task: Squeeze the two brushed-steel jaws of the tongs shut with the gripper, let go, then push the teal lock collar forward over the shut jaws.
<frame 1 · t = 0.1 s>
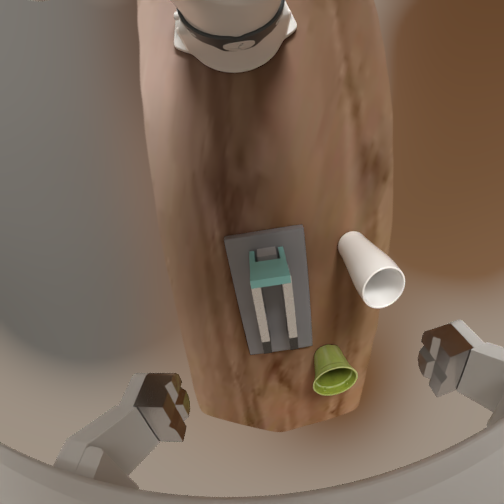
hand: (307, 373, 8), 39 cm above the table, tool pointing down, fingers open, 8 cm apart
plant pot: (327, 353, 60), on the table
jaw 1: (261, 313, 50), point 4 cm above the table, slide at 1.7 cm
jaw 2: (289, 309, 50), point 4 cm above the table, slide at 1.7 cm
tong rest: (274, 300, 54), on the table
white cup: (350, 243, 49), on the table
lock collar: (269, 271, 43), point 7 cm above the table, slide at 0.0 cm
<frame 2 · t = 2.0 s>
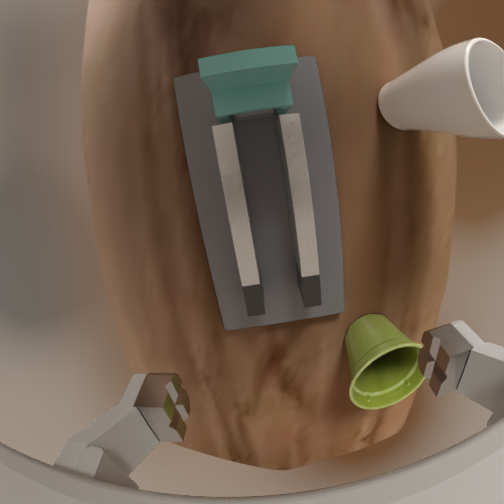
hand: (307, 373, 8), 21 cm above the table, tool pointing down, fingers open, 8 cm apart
plant pot: (367, 332, 33), on the table
jaw 1: (241, 221, 24), point 4 cm above the table, slide at 1.7 cm
jaw 2: (300, 211, 24), point 4 cm above the table, slide at 1.7 cm
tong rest: (268, 208, 27), on the table
white cup: (397, 106, 24), on the table
lock collar: (250, 90, 18), point 7 cm above the table, slide at 0.0 cm
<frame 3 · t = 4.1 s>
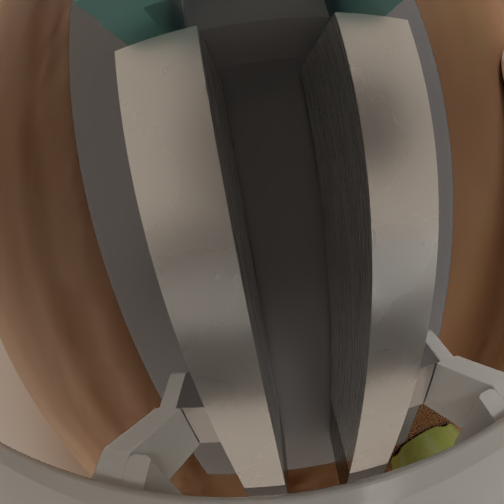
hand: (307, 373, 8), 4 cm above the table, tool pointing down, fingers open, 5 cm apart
plant pot: (422, 443, 17), on the table
jaw 1: (240, 361, 8), point 4 cm above the table, slide at 1.1 cm, touching gripper
jaw 2: (368, 339, 8), point 4 cm above the table, slide at 1.1 cm, touching gripper
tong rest: (291, 294, 11), on the table
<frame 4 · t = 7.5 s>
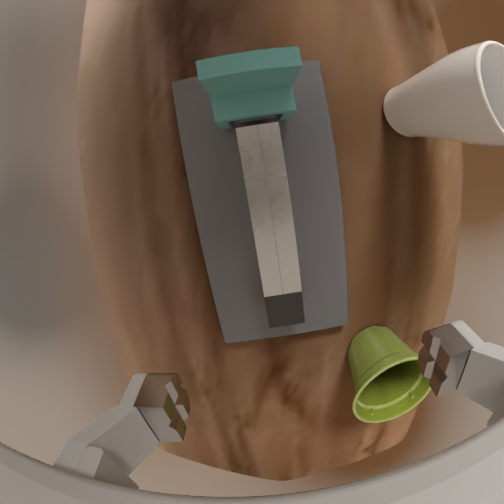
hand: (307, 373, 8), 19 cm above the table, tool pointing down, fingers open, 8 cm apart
plant pot: (370, 344, 32), on the table
jaw 1: (263, 228, 23), point 4 cm above the table, slide at 0.0 cm, touching jaw 2
jaw 2: (282, 225, 23), point 4 cm above the table, slide at 0.0 cm, touching jaw 1
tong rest: (270, 218, 27), on the table
white cup: (402, 111, 23), on the table
lock collar: (252, 95, 17), point 7 cm above the table, slide at 0.0 cm
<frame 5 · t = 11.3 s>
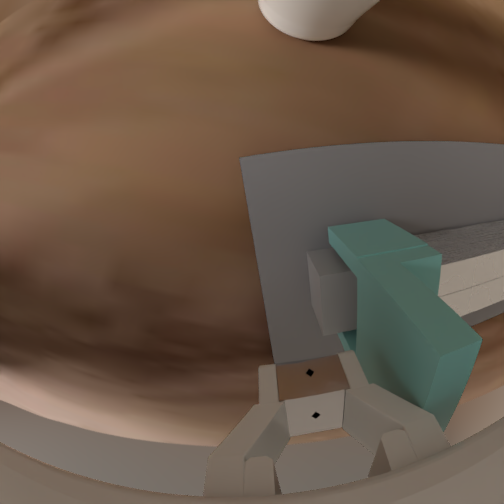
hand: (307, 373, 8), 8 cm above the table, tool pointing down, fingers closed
jaw 1: (496, 269, 12), point 4 cm above the table, slide at 0.0 cm, touching jaw 2
jaw 2: (499, 245, 12), point 4 cm above the table, slide at 0.0 cm, touching jaw 1
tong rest: (463, 239, 15), on the table
white cup: (305, 8, 11), on the table
lock collar: (398, 324, 10), point 7 cm above the table, slide at 1.1 cm, touching gripper
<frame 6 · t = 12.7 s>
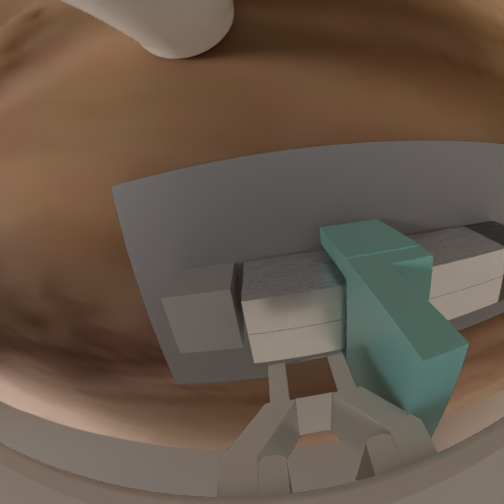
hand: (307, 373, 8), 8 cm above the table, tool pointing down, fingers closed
jaw 1: (411, 293, 13), point 4 cm above the table, slide at 0.0 cm, touching jaw 2
jaw 2: (413, 264, 12), point 4 cm above the table, slide at 0.0 cm, touching jaw 1
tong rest: (383, 253, 16), on the table
white cup: (187, 23, 12), on the table
lock collar: (388, 325, 10), point 7 cm above the table, slide at 7.3 cm, touching gripper
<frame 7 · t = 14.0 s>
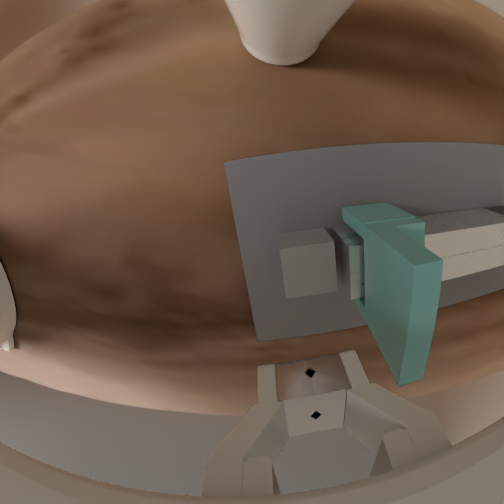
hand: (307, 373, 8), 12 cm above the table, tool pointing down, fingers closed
jaw 1: (450, 253, 16), point 4 cm above the table, slide at 0.0 cm, touching jaw 2
jaw 2: (452, 231, 15), point 4 cm above the table, slide at 0.0 cm, touching jaw 1
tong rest: (425, 228, 19), on the table
white cup: (280, 36, 15), on the table
lock collar: (395, 275, 13), point 7 cm above the table, slide at 4.2 cm
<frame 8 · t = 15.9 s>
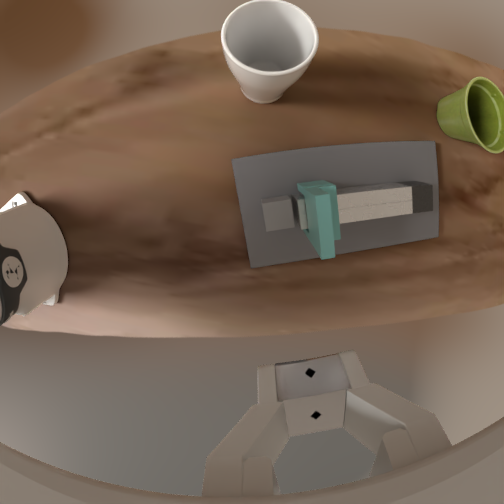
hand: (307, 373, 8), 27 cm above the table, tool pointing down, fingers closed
plant pot: (450, 117, 29), on the table
jaw 1: (366, 208, 30), point 4 cm above the table, slide at 0.0 cm, touching jaw 2
jaw 2: (365, 194, 30), point 4 cm above the table, slide at 0.0 cm, touching jaw 1
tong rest: (355, 196, 33), on the table
white cup: (263, 83, 29), on the table
lock collar: (323, 214, 27), point 7 cm above the table, slide at 4.2 cm
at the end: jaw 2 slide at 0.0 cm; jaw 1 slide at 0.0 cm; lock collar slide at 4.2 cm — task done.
